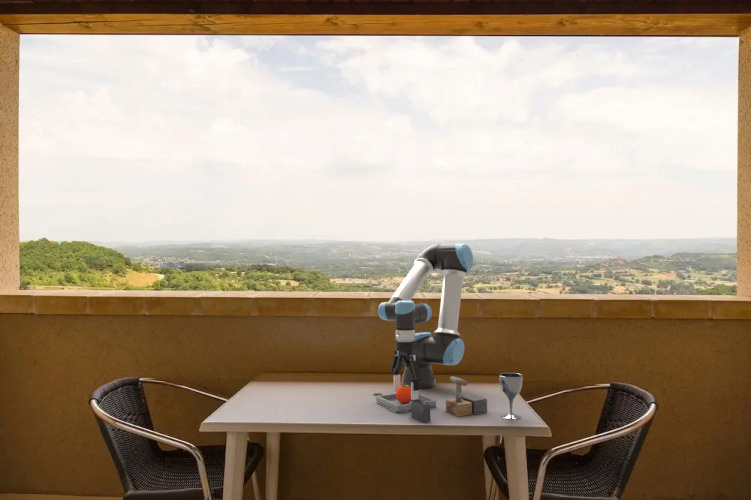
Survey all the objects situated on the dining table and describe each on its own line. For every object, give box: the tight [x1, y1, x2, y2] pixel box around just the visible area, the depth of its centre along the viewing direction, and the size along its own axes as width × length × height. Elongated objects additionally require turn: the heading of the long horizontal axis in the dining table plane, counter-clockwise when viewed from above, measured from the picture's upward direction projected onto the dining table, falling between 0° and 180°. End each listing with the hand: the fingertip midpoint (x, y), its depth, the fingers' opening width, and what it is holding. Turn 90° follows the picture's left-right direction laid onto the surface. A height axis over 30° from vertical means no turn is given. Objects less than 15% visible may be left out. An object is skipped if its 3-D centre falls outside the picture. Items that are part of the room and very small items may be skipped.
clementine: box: [395, 385, 412, 404], centre depth 212 cm, size 8×7×7 cm
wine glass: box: [499, 372, 523, 421], centre depth 195 cm, size 8×8×15 cm
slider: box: [445, 375, 473, 417], centre depth 200 cm, size 8×6×12 cm
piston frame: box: [410, 392, 488, 424], centre depth 198 cm, size 9×28×6 cm, turn 117°
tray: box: [375, 392, 437, 413], centre depth 212 cm, size 17×17×2 cm
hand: (405, 395), depth 212 cm, fingers open, 13 cm apart
